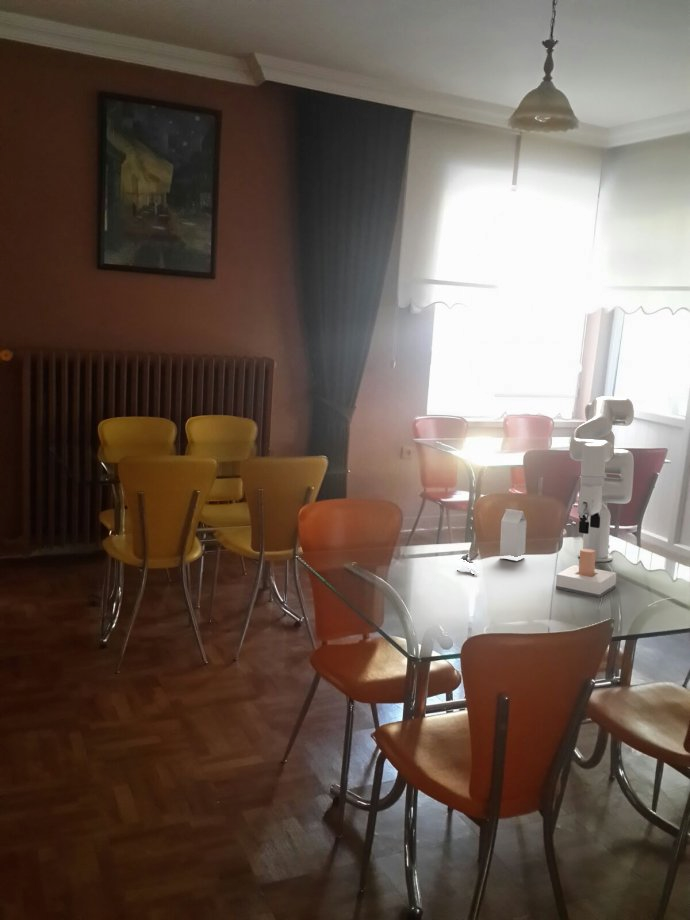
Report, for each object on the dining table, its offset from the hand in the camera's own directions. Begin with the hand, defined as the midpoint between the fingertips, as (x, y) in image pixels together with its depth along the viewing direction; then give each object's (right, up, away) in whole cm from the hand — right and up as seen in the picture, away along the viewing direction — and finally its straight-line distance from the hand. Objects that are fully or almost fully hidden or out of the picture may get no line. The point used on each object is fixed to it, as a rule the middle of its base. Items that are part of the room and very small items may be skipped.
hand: (589, 530), depth 278 cm
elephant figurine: (-37, -17, +20) cm, 45 cm away
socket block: (0, -20, +3) cm, 20 cm away
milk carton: (-18, -14, +38) cm, 45 cm away
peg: (0, -19, +3) cm, 19 cm away
